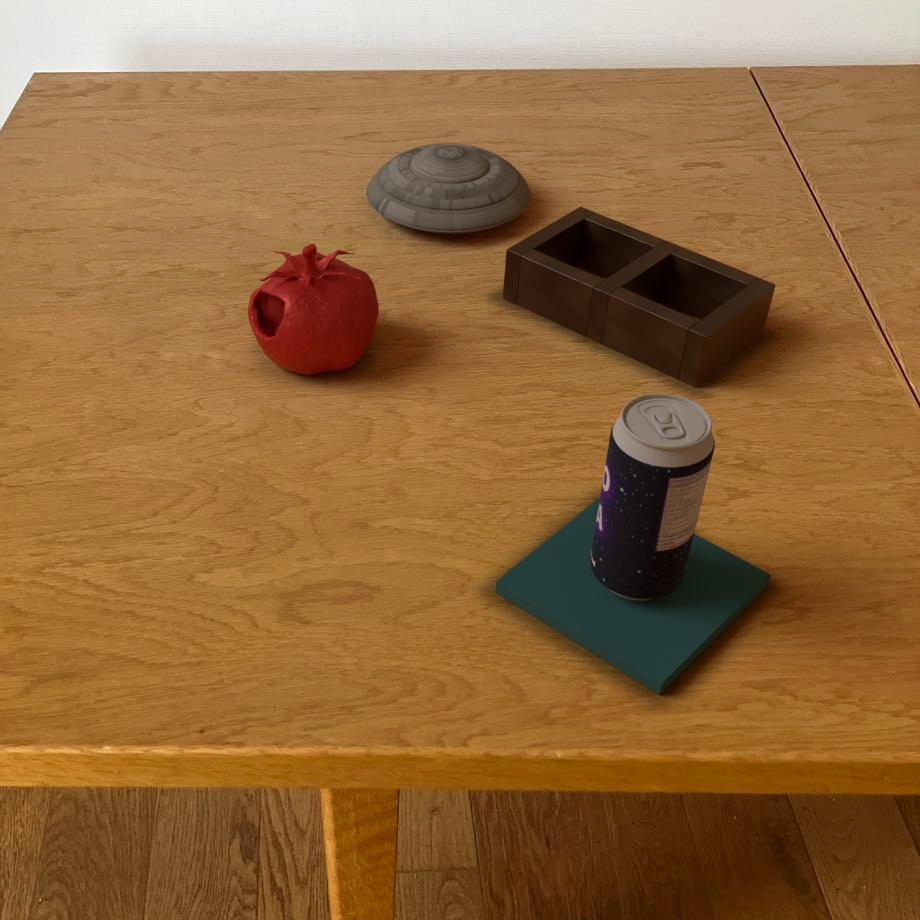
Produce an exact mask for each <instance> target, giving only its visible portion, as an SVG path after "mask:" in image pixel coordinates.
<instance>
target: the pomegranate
mask: <svg viewBox="0 0 920 920" xmlns="http://www.w3.org/2000/svg"><path fill="white" fill-rule="evenodd" d="M317 250H318V249H317V245H316V243H310V244H307V245H305V246H304V247H303V248H302V252H301V253H299V254H294V255H292V254H291V253H289V252H287V251H277V250H272V253H275V254H280V255H283V257H284V258H285V261H284V262H283V263H282V264H281V265H280V266H278V267H277V268H276V269H275V270H274V271H271V272H269V273H268V274H267V275H266V276H265V277H263V278H261V279H258V280H259V281H261V282H264V283H263V284H262V285H260V287H258V288H256V289H255V290H253V291H252V293H251V294H250V296H249V301H248V305H247V318H248V319H247V320H248V322H249V325H250V327H251V330H252V332H253V334H254V337H255V340H256V342H257V344H258V345H259V347H260V348H261V349H262V351H263V353H264V354H265V355H266V357H267V358H268V359H269V360H270V361H271V362H272V363H274V364H275V365H277V366H279V367H281V368H283V369H285V370H286V371H289V372H292V373H296V374H300V375H306V376H311V375H312V376H313V375H319V374H321V373H324V372H339V371H344V370H347V369H348V368H350V367H352V366H354V365H355V364H356V363H357V362H358V361H359V360H360V359H361V357H362V356H363V354H364V352H365V351H366V349H367V348H368V347H369V345H370V344H371V342H372V340H373V336H374V333H375V328H376V326H377V322H378V319H379V314H380V309H379V307H380V306H379V305H380V304H379V301H378V295H377V291H376V288H375V284H374V281H373V280H372V278H371V277H370V275H369V274H368V273H367V272H366V271H364V270H362V269H360V268H357V267H354V266H352V265H350V264H348V263H347V262H345V261H343V260H340V259H338V258H337V256H342V255H355V254H356V252H348V251H345V250H341V249H337V250H335V251H333V252H331V253H330V254H327V255H325V254H322V253H320V252H318V251H317Z"/></svg>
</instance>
